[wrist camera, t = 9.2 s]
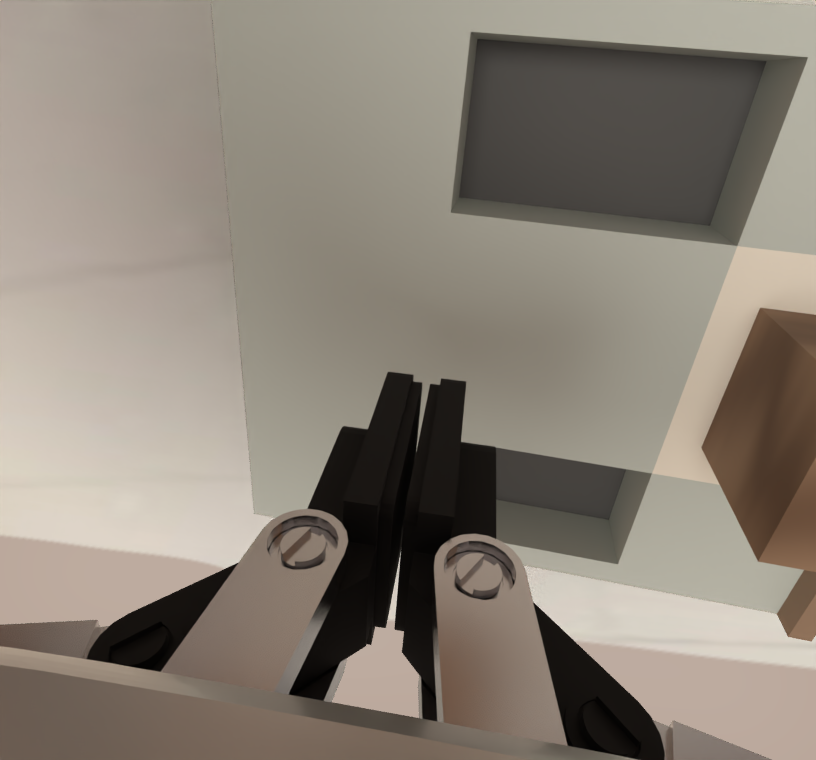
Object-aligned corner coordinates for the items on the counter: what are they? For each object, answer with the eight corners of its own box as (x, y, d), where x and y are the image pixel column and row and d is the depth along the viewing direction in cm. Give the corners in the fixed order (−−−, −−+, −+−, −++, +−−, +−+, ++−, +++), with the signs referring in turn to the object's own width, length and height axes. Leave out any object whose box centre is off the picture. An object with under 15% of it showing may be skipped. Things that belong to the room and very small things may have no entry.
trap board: (256, -16, 17) (187, -42, 13) (1060, 39, 14) (1237, 24, 11) (280, 470, 26) (243, 529, 23) (768, 558, 23) (811, 641, 20)
